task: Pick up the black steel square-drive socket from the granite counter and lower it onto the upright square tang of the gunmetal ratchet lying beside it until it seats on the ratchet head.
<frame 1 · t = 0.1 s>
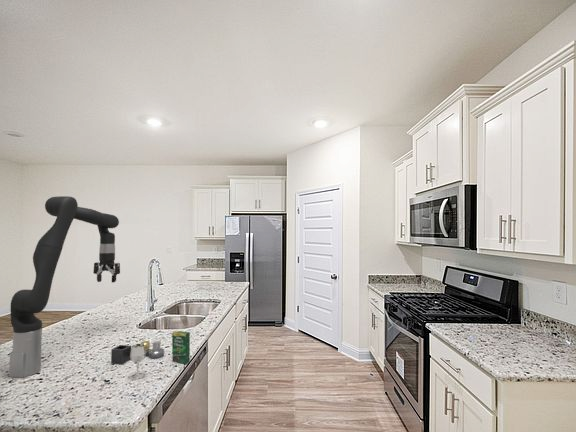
hand: (106, 282, 179), 29 cm above the table, fingers open, 8 cm apart
wineglass: (137, 376, 131), on the table
socket: (121, 361, 145), on the table
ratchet: (156, 356, 151), on the table
coffee box: (180, 362, 145), on the table
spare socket: (144, 350, 158), on the table
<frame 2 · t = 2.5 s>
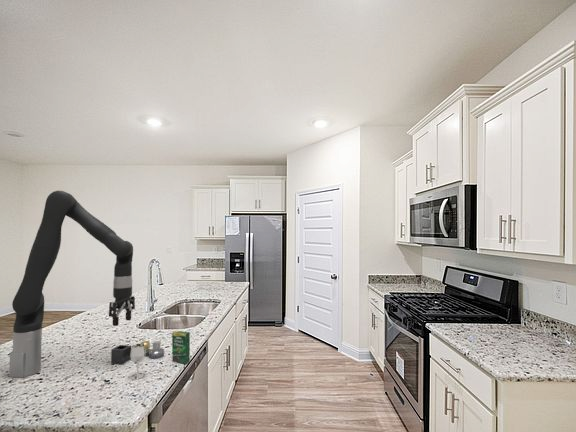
hand: (122, 322, 146), 17 cm above the table, fingers open, 8 cm apart
nothing on the table moved.
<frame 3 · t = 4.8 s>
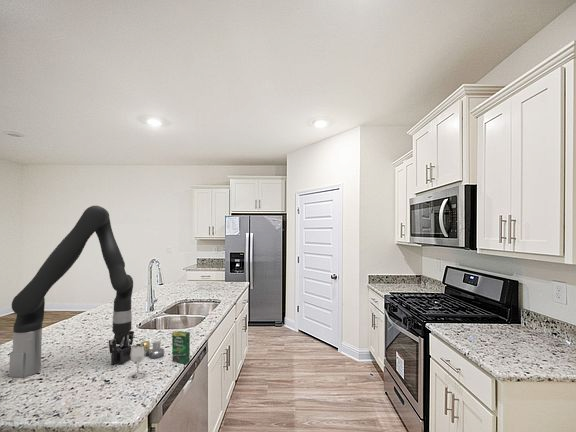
hand: (121, 358, 145), 1 cm above the table, fingers closed on socket, 5 cm apart
socket: (121, 361, 145), on the table, touching gripper
everything else where it was.
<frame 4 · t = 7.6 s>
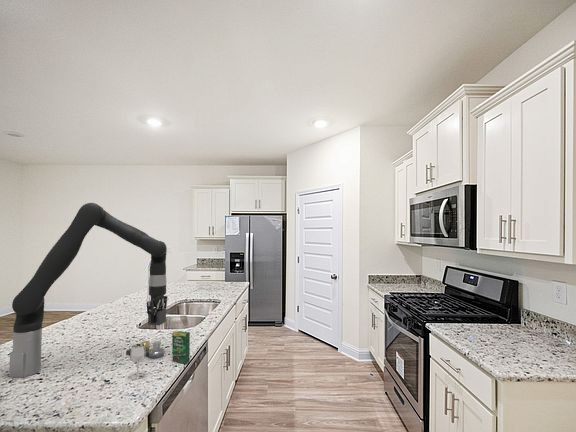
hand: (157, 321, 152), 16 cm above the table, fingers closed on socket, 5 cm apart
socket: (157, 323, 152), point 15 cm above the table, touching gripper
everything else where it was.
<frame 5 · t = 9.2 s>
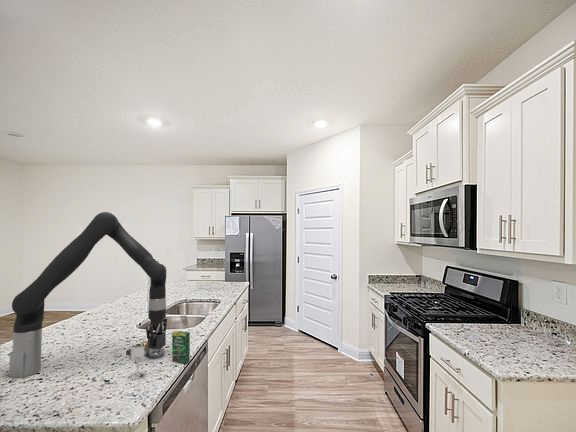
hand: (156, 344, 151), 5 cm above the table, fingers closed on socket, 5 cm apart
socket: (156, 346, 151), point 4 cm above the table, touching gripper
everything else where it was.
when the fingers open (5 cm above the table, at t = 10.4 s): socket drops 1 cm, resting on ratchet.
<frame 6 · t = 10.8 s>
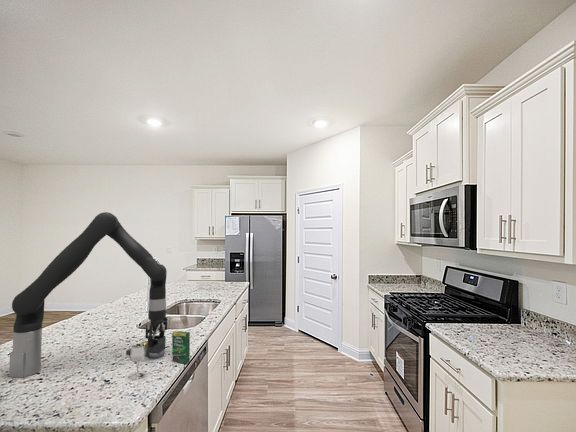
hand: (156, 343, 151), 6 cm above the table, fingers open, 8 cm apart
socket: (156, 350, 151), point 2 cm above the table, touching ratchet
everything else where it was.
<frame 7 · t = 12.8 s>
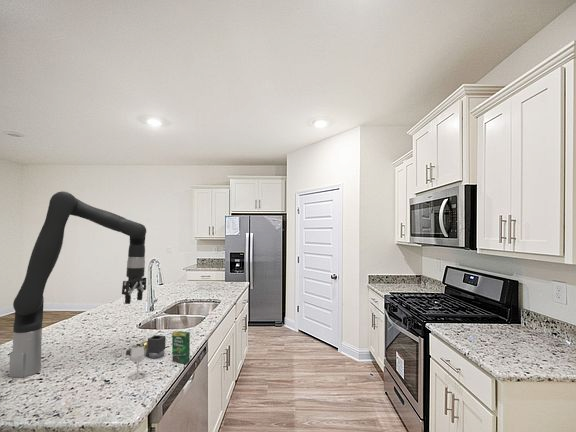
hand: (133, 301, 152), 25 cm above the table, fingers open, 8 cm apart
nothing on the table moved.
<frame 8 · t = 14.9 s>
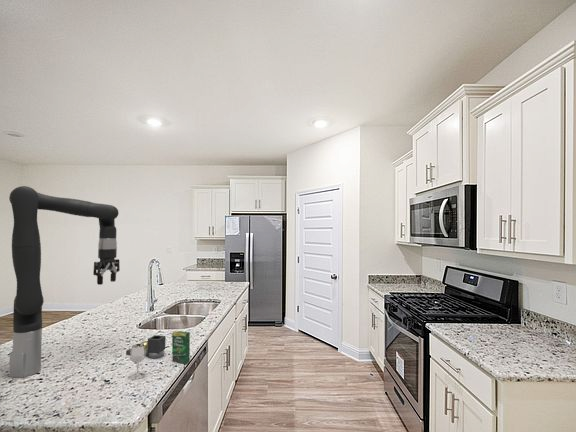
hand: (106, 282, 153), 33 cm above the table, fingers open, 8 cm apart
nothing on the table moved.
at the end: socket 0.1 cm off-centre on the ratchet, point 2.5 cm above the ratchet's base; socket tilted 0°; the gripper is holding nothing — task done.
